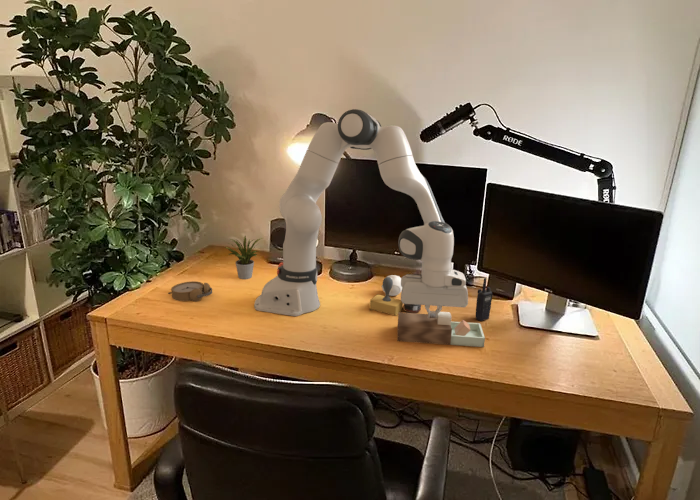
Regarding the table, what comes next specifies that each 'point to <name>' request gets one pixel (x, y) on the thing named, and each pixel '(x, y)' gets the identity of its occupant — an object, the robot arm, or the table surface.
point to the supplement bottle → (412, 308)
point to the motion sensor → (395, 285)
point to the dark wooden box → (422, 329)
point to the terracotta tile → (462, 328)
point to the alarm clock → (190, 291)
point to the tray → (468, 336)
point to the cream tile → (444, 318)
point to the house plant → (244, 259)
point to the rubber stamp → (386, 300)
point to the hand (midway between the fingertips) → (432, 317)
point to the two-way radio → (483, 303)
